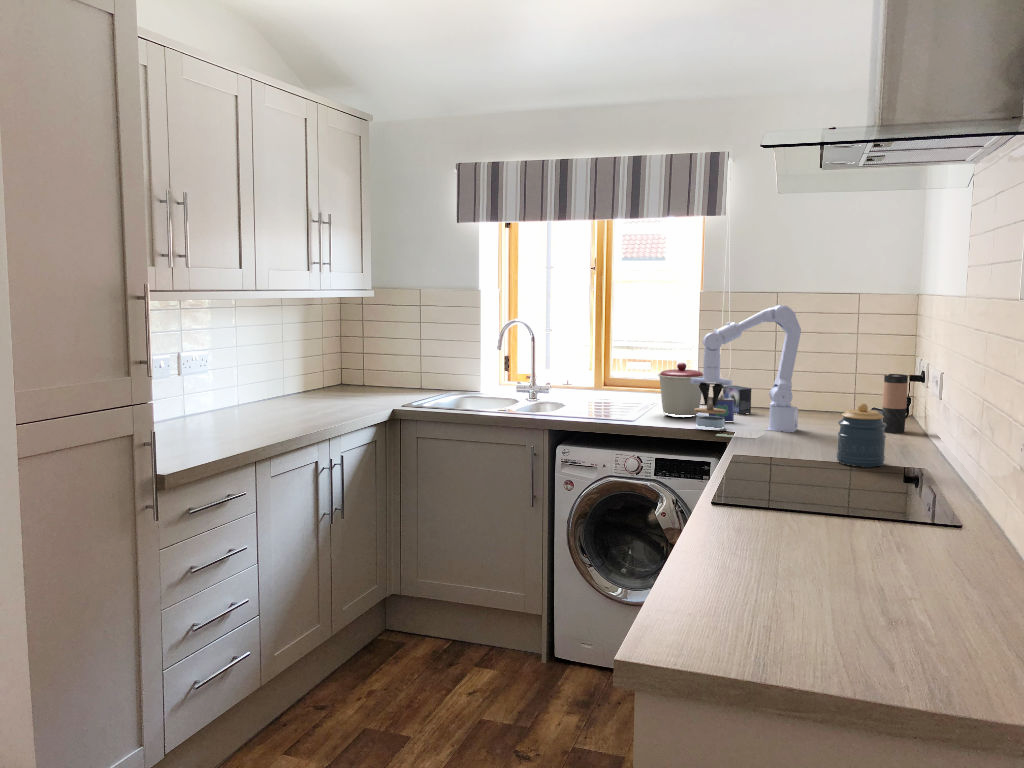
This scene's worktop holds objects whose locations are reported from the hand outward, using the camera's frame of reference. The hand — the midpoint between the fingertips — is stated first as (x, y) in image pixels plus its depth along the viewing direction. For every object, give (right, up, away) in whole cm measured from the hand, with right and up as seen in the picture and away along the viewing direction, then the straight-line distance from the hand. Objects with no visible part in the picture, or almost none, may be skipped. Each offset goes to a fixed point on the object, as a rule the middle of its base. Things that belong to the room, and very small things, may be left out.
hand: (710, 404), depth 308 cm
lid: (0, -3, 0) cm, 3 cm away
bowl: (0, -9, +1) cm, 9 cm away
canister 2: (+30, -16, -56) cm, 66 cm away
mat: (+8, -10, -11) cm, 17 cm away
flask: (+7, -7, +15) cm, 18 cm away
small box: (+19, -4, +38) cm, 43 cm away
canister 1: (-5, -6, +30) cm, 30 cm away
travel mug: (+63, -10, -5) cm, 64 cm away
